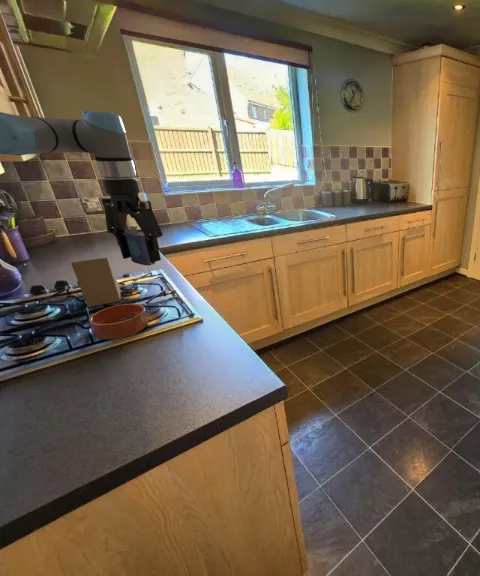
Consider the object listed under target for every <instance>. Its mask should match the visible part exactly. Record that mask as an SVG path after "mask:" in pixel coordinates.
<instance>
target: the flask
mask: <svg viewBox="0 0 480 576" xmlns="http://www.w3.org/2000/svg"><path fill="white" fill-rule="evenodd" d="M127 228H128V229H125V231H124V234H123V235H125V237H126V241H127V244H128V248H129V251H130V255H131V257H130V260H131V262H132V263H134V264H138V265H142V266H147V267H149V266H153V265H156V262H154V263H151V261H150V257H149V254H148V250H147V246H146V242H145V239H147V238H146V236H145V235H144V233H143V232H140V231H138V225H135V226H133V225H131V226H130V225H129V226H128V227H127Z"/></svg>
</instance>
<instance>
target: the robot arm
mask: <svg viewBox="0 0 480 576" xmlns="http://www.w3.org/2000/svg"><path fill="white" fill-rule="evenodd" d="M81 117H82V119H81V118H80V119H72V118H71V119H70V118H58V117H57V118H55V117H44V116H43V117H42V116H41V117H40V116H26V115H19V114H18V115H17V114H11V113H6V112H2V111H0V155H7V156H8V155H9V156H26V155H38V154H59V153H60V154H61V153H88V154H93V156H94V158H95V159H94V160H95V162H96V166H97V170H98V173H99V176H100V177H101V178H103V179H102V180H101V183H102V185H103V189H104V192H105V194H107V195H110V196H109V197H104V198H101V202H102V206H103V209H104V217H105V225H106V231H107V233H108V234H112V235H113V236H114V237H115V239H116V242H117V245H118V247H119V249H120V253H121V256H122V259H124V260H126V259H129V258H131V255H130V251H129V248H128V244H127V241H126V237H125V234H124V231H125V230H126V226H127V218H128V215H129V216H130V218H132V219H133V220H134V221H135V222H136V225H137V227H139V229H140V230H141V233H144V235H145V236H146V238H147V239H145V242H146V246H147V250H148V254H149V257H150V261H151V263H154V262H155V263H156V262H159V261H161V260H162V258H161V255H160V254H161V253H160V244H159V241H158V239H159V238H161V237H163V236H164V234H163V232H162V230H161V227H160V224H159V223H158V219H157V218H156V215H155V213H154V211H153V206H152V202H151V201H150V200H141V198H140V196H139V194H140V193H141V188H140V184H139V180H138V179H137V178H135V177H136V176H137V172H136V169H135V164H134V161H133V158H132V154H131V150H130V145H129V141H128V138H127V131H126V130H125V126H124V123H123V119H122V117H121V116H120V115H119V114H118V113H116V112H112V111H101V110H83V111H82V112H81Z"/></svg>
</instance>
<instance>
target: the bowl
mask: <svg viewBox="0 0 480 576" xmlns="http://www.w3.org/2000/svg"><path fill="white" fill-rule="evenodd" d="M127 316H135V317H133V318H129V319H122V318H124V317H127ZM121 319H122V320H121ZM149 321H150V320H149V317H148V314H147V310H146V306H144V305H142V304H141V303H140V304H139V303H122V304H116V305H112V306H109V307H105V308H102V309H100V310H98V311H96V312H94V313H93V314H91V315H90V316H89V319H88V323H89V326H90V328H91V332H92V334H93V336H94V337H95V338H97V339H99V340H104V341H105V340H117V339H123V338H126V337H130V336H132V335H135V334H137V333H139V332H141V331H142V330H144V329H145V328H146V327H147V326H148V325H149V323H150V322H149Z"/></svg>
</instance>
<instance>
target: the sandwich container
mask: <svg viewBox="0 0 480 576" xmlns="http://www.w3.org/2000/svg"><path fill="white" fill-rule="evenodd" d="M70 264H71V267H72V270H73V272H74V274H75V275H74V276H75V277H76V280H77V282H78V285H79V287H80V291H81V293H82V296H83V297H84V300H85V302H86V305H87V307H88V308H91V307H97V306H101V305H107V304H112V303H116V302H121V288H120V284H119V282H118V279H117V278H116V276H115V273H114V272H113V270H112V269H113V268H112V267H111V264H110V262H109V259H108V257H100V258H92V259H91V258H90V259H85V260H84V259H83V260H78V261H71V263H70Z"/></svg>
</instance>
